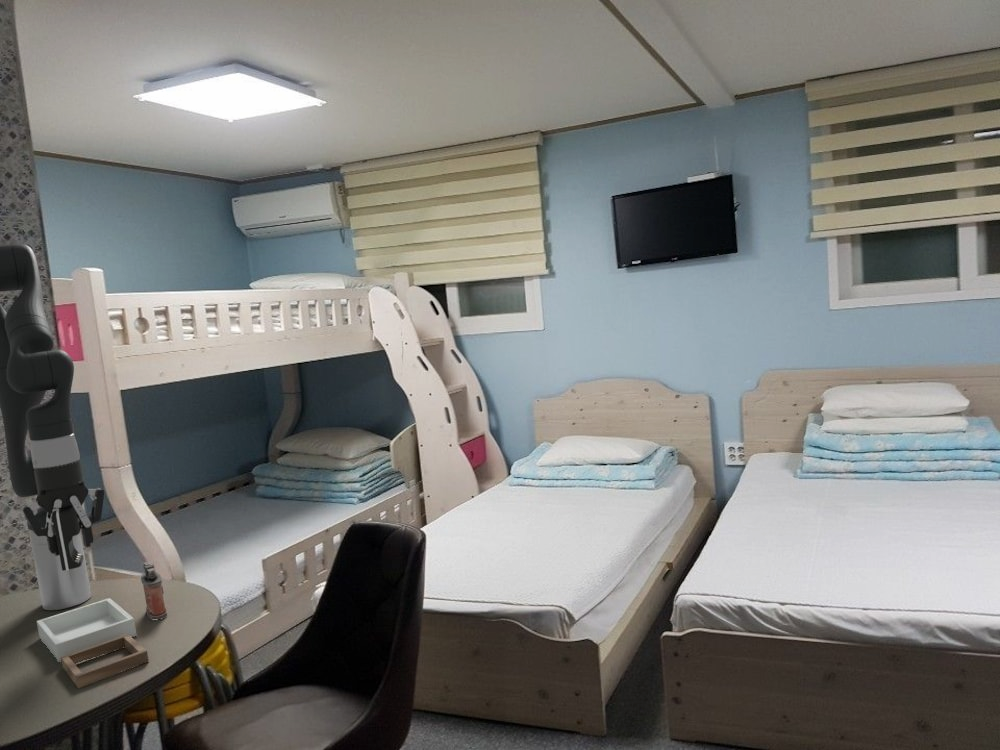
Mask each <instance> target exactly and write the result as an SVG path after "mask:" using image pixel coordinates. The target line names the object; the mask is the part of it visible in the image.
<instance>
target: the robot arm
mask: <svg viewBox="0 0 1000 750" xmlns="http://www.w3.org/2000/svg"><path fill="white" fill-rule="evenodd" d="M12 291H14V292H15V291H21V292H20V294H19V295H18V296H17V298H16V299H15V300H14V302H12V304H11V306H10V307H8V310H7V312H6V310H5V309H4V307H3V306H2V304H1V302H0V413H1V417H2V422H3V430H4V438H5V444H6V445H5V446H6V453H7V454H6V456H7V461H8V462H7V463H8V470H9V471H8V472H9V478H10V482H11V483H10V484H11V486H12V490H13V492H14V493H15V495H16V496H18V497H19V498H28V497H34V496H36V497H35V498H36V499H35V500H34V501H32V502H31V503H29V504H22V506H21V507H20V511H21V513H22V515H23V516H24V518H25V519H26V523H27V529H28V534H29V539H30V546H31V550H32V556H33V560H34V561H33V562H34V566H35V572H36V577H37V578H36V579H37V582H38V589H39V595H40V601H41V605H42V606H41V607H42V609H43V610H45V611H58V610H64V609H68V608H72V607H75V606H78V605H80V604H82V603H84V602H86V601H88V600H89V599H90V598H91V597H92V592H91V586H90V580H89V573H88V568H87V562H86V557H85V550H84V547H85V548H89V547H91V545H92V544H93V543H94V534H93V529H92V526H93V524H95V523H96V522H100V521H101V520H102V519H101V518H102V513H103V505H104V498H105V490H103V488H100V487H95V488H88V487H87V486H86V484H85V481H84V476H83V475H84V474H83V469H82V464H81V458H80V455H81V452H80V450H79V446H78V442H77V439H76V437H75V431H74V427H73V420H72V413H71V393H72V386H73V381H74V374H75V373H74V372H75V365H74V362H73V359H72V357H71V356H70V355H69V354H68V353H67V352H66V351H65V350H61V349H54V345H55V344H54V343H55V342H54V337H53V335H52V332H51V328H50V326H49V322H48V320H47V317H46V311H45V307H44V305H45V303H44V295H43V288H42V281H41V275H40V269H39V265H38V260H37V257H36V255H35V252H34V251H33V249H32V248H31V247H30V246H29V245H27V244H24V243H23V244H22V243H11V244H0V292H12ZM53 349H54V350H53ZM51 390H53V391H54V393H53V396H52V397H51V398H50V399H49V400H47V401H46V402H45V401H44V402H42V401H43V399H44V397H45V395H46V392H47V391H51ZM28 434H29V436H28V437H29V441H30V450H28V451H26V439H27V435H28ZM87 496H89V499H90V500H92V504H91V510H90V515H89V516H88V515H87V513H86V511H85V509H84V508H83V504H84V503H85V500H86V498H87ZM67 506H73V507H74V509H75V510H76V512H77V514H78V517H79V518H80V520H81V524H82V526H81V530H80V533H79V534H78V535H75V536H73V538H72V539H73V544H74V547H75V549H76V550H77V551H78V552H79V553H80V554H81V555H83V562H82V565H81V566H80V567H78V568H74V569H70V570H67V571H66V570H65V571H63V570H62V566H61V561H60V555H59V550H58V545H57V539H56V534H55V529H54V523H53V516H52V513H53V511H56V510H58V509H59V510H60V509H61V508H63V507H67Z"/></svg>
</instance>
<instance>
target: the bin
mask: <svg viewBox="0 0 1000 750" xmlns="http://www.w3.org/2000/svg"><path fill="white" fill-rule="evenodd" d="M36 626H37V631H38V636H39V640H40V639H41V640H40V641H41V642H42V643H43V645H44V644H45V645H46V646H47V647H46V646H45V645H44V646H45V647H46V648H48V649H49V650H50V651H49V650H48V651H49V652H50V653H52V654H53V655H54V656H53V655H52V654H51V655H52V656H53V658H54V657H55V658H56V659H57V660H58V661H59V662H61V657H62V656H65V655H68V654H71V653H74V652H77V651H79V650H82V649H85V648H88V647H91V646H94V645H97V644H100V643H103V642H105V641H108V640H111V639H114V638H117V637H120V636H123V635H126V634H129V635H130V636H131V637H134V636H137V629H136V623H135V618H134V617H133V616H132V615H130V614H129V613H128V612H127V611H125V610H124V609H123V608H122V607H121V606H120V605H119V604H117V603H116V602H115V601H114V600H112V599H111V598H110V597H108V598H105V599H101V600H100V601H96V602H93V603H90V604H86V605H83V606H80V607H77V608H74V609H70V610H67V611H65V612H62V613H57V614H55V615H52V616H49V617H48V616H47V617H45V618H42V619H38V620H36ZM137 637H138V636H137ZM134 638H135V637H134ZM55 658H54V659H55ZM56 659H55V660H56ZM57 660H56V661H57ZM58 661H57V662H58Z"/></svg>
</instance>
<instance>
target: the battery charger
mask: <svg viewBox="0 0 1000 750" xmlns="http://www.w3.org/2000/svg"><path fill="white" fill-rule="evenodd" d="M52 516H53V523H54V529H55V534H56V539H57V545H58V550H59V555H60V561H61V566H62V570H63V571H65V570H66V571H67V570H70V569H74V568H78V567H80V566H81V565H82V562H83V555H81V554H80V553H79V552H78V551H77V550H76V549H75V547H74V544H73V539H72V538H73V536H75V535H78V534H79V533H81V527H82V524H81V520H80V518H79V517H78V514H77V512H76V510H75V509H74V507H73V506H67V507H63V508H61V509H60V510H59V509H58V510H56V511H53V513H52Z"/></svg>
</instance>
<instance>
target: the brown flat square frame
mask: <svg viewBox="0 0 1000 750" xmlns="http://www.w3.org/2000/svg"><path fill="white" fill-rule="evenodd" d="M123 647H126V648H127V649H128V650H129V651H130V652H131V653H132V654H131V653H130V652H129V651H128V650H127V649H126V648H125V649H126V650H127V651H128V652H129V653H130V654H129V655H127V656H124V657H120V658H117V659H114V660H113V661H109V662H107V663H104V664H102V665H99V666H96V667H94V668H93V667H92V668H90V669H87V670H85V671H83V672H82V671H81V670H80V669H79V668H78V665H75V664H76V663H78V662H81V661H83V660H87V659H91V658H93V657H97V656H100V655H102V654H106V653H109V652H112V651H114V650H117V649H120V648H123ZM112 653H113V652H112ZM148 661H149V656H148V650H147V649H146V648H144V647H143V646H142V645H141V644H140V643H139V642H138V641H136V640H135V639H134V638H132V637H131V636H130V635H129V634H126V635H123V636H120V637H117V638H114V639H111V640H108V641H105V642H103V643H100V644H97V645H94V646H91V647H88V648H85V649H82V650H79V651H77V652H74V653H71V654H68V655H65V656H62V657H61V662H62V663H61V666H62V669H63V668H64V669H65V670H64V669H63V670H64V672H65V671H66V672H67V673H66V672H65V673H66V674H67V676H69V678H70V680H71V681H72V682H73V683H74V684H75V685H76V687H77V688H78V689H81V688H84V687H86V686H90V685H92V684H95V683H97V682H100V681H103V680H105V679H108V678H110V676H111V677H113V676H116V675H118V674H117V673H119V674H121V673H122V672H121V671H124V670H127V669H129V670H131V669H130V668H132V667H134V666H137V665H140V664H143V663H145V664H147V663H146V662H148ZM148 663H149V662H148ZM143 665H144V664H143ZM140 666H141V665H140ZM137 667H138V666H137ZM132 669H133V668H132ZM127 671H128V670H127ZM120 672H121V673H120ZM124 672H125V671H124ZM115 674H116V675H115ZM107 677H108V678H107ZM102 679H103V680H102ZM99 680H100V681H99Z"/></svg>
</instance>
